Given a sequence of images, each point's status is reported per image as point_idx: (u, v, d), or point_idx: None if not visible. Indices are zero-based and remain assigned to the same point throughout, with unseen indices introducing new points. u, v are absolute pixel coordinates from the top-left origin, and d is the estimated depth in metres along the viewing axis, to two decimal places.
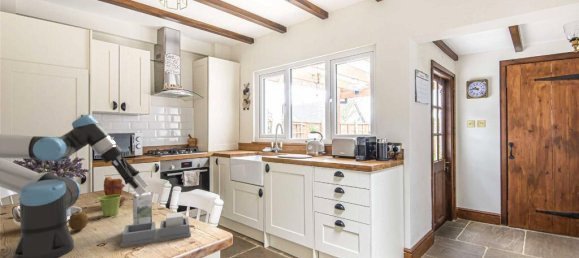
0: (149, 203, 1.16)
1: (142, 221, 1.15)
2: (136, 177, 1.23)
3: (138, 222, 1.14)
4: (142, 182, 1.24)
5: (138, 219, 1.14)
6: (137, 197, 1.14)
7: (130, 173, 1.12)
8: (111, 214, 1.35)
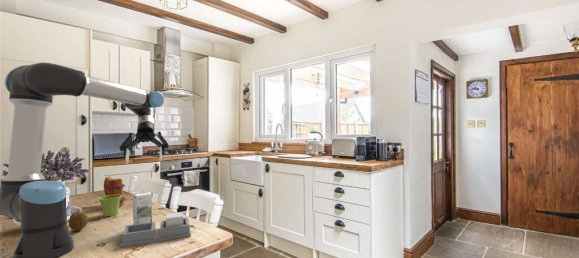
0: (149, 203, 1.16)
1: (142, 221, 1.15)
2: (128, 151, 1.29)
3: (138, 222, 1.14)
4: (128, 157, 1.27)
5: (138, 219, 1.14)
6: (137, 197, 1.14)
7: (158, 146, 1.36)
8: (111, 214, 1.35)
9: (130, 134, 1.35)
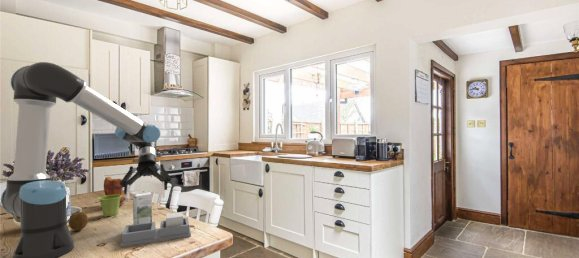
0: (149, 203, 1.16)
1: (142, 221, 1.15)
2: (129, 188, 1.23)
3: (138, 222, 1.14)
4: (129, 194, 1.21)
5: (138, 219, 1.14)
6: (137, 197, 1.14)
7: (160, 180, 1.30)
8: (111, 214, 1.35)
9: (131, 168, 1.28)
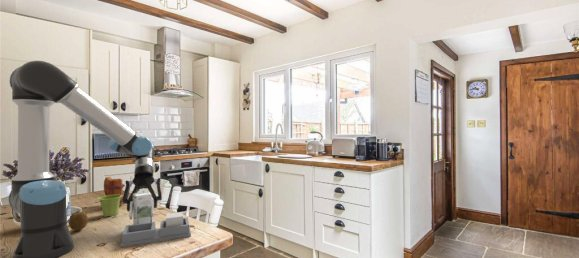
0: (149, 203, 1.16)
1: (142, 221, 1.15)
2: (132, 204, 1.16)
3: (138, 222, 1.14)
4: (132, 212, 1.14)
5: (138, 219, 1.14)
6: (137, 197, 1.13)
7: None
8: (111, 214, 1.35)
9: (127, 182, 1.21)
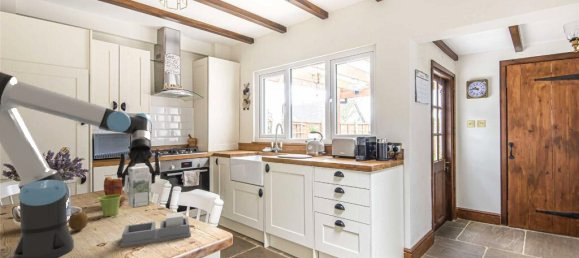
0: (147, 178, 1.06)
1: (138, 197, 1.04)
2: (128, 179, 1.06)
3: (134, 198, 1.03)
4: (127, 186, 1.04)
5: (134, 195, 1.03)
6: (133, 170, 1.03)
7: (149, 171, 1.12)
8: (111, 214, 1.35)
9: (122, 155, 1.10)
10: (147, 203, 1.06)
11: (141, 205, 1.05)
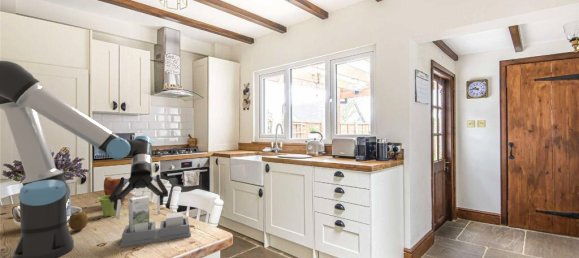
0: (147, 208, 1.05)
1: (138, 227, 1.04)
2: (120, 203, 1.05)
3: (134, 229, 1.03)
4: (119, 211, 1.03)
5: (134, 226, 1.03)
6: (133, 201, 1.03)
7: (155, 193, 1.13)
8: (111, 214, 1.35)
9: (122, 179, 1.11)
10: None
11: None
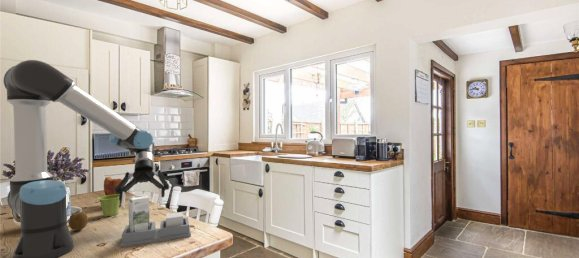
0: (147, 208, 1.05)
1: (138, 228, 1.04)
2: (125, 195, 1.17)
3: (134, 229, 1.03)
4: (124, 202, 1.15)
5: (134, 226, 1.03)
6: (133, 201, 1.02)
7: None
8: (111, 214, 1.35)
9: (127, 174, 1.23)
10: None
11: None
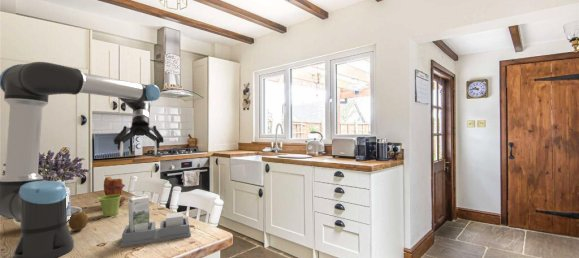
0: (147, 208, 1.05)
1: (138, 228, 1.04)
2: None
3: (134, 229, 1.03)
4: (122, 150, 1.26)
5: (134, 226, 1.03)
6: (133, 201, 1.02)
7: None
8: (111, 214, 1.35)
9: (125, 127, 1.34)
10: None
11: None
